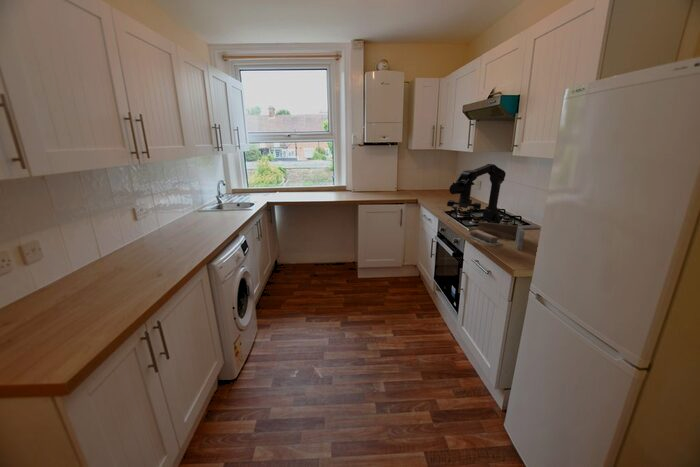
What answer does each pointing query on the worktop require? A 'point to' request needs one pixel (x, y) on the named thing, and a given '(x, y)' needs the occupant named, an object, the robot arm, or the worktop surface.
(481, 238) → the packaged product
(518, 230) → the brown piece
